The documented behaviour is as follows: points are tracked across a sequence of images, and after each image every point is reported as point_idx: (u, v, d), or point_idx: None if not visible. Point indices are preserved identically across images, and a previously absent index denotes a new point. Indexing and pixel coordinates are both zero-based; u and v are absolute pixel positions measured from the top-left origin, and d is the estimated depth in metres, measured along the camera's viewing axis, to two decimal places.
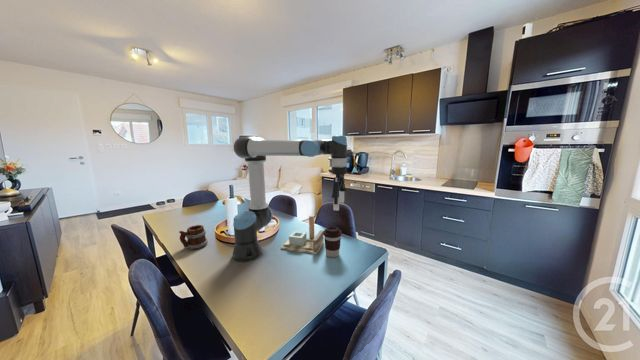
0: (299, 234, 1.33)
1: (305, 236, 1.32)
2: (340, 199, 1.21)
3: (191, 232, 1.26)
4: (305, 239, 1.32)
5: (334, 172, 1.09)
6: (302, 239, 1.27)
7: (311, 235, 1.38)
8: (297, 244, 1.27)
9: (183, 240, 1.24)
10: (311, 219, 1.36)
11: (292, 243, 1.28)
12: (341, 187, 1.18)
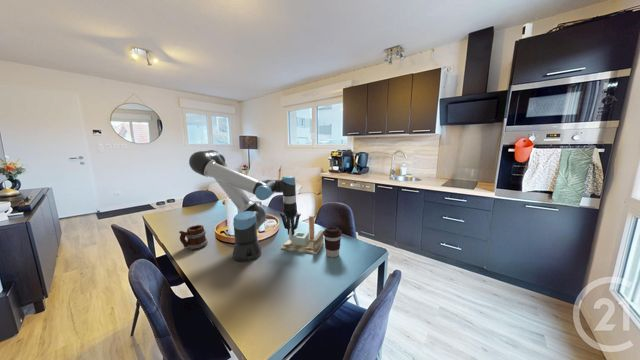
0: (301, 234, 1.32)
1: (307, 236, 1.31)
2: None
3: (191, 232, 1.26)
4: (307, 239, 1.31)
5: None
6: (304, 239, 1.26)
7: (311, 235, 1.38)
8: (299, 244, 1.26)
9: (183, 240, 1.24)
10: (311, 219, 1.36)
11: (294, 243, 1.27)
12: None
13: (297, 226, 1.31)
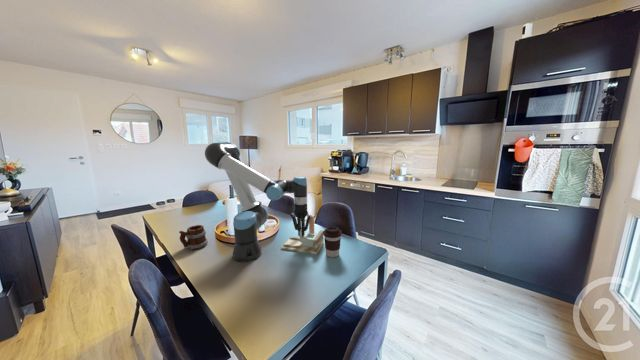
0: (311, 236, 1.30)
1: None
2: None
3: (191, 232, 1.26)
4: None
5: None
6: None
7: None
8: (310, 246, 1.25)
9: (183, 240, 1.24)
10: (311, 219, 1.36)
11: (305, 245, 1.25)
12: None
13: (307, 227, 1.29)
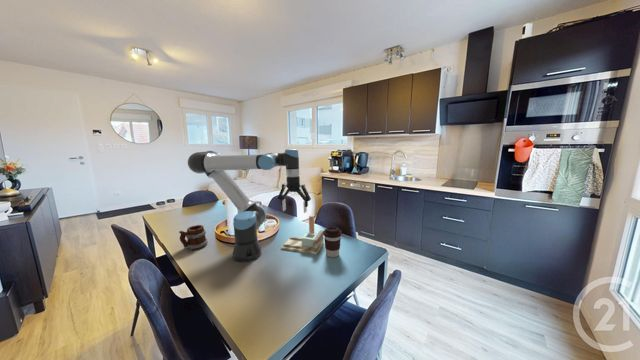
0: (311, 236, 1.30)
1: None
2: None
3: (191, 232, 1.26)
4: None
5: None
6: None
7: None
8: (310, 246, 1.25)
9: (183, 240, 1.24)
10: (311, 219, 1.36)
11: (305, 245, 1.25)
12: None
13: None
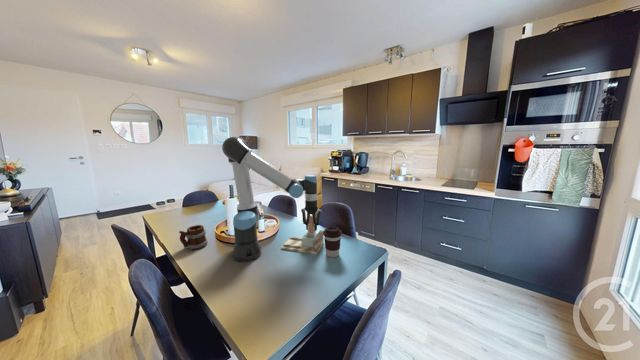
0: (311, 236, 1.30)
1: None
2: None
3: (191, 232, 1.26)
4: None
5: None
6: None
7: None
8: (310, 246, 1.25)
9: (183, 240, 1.24)
10: (311, 219, 1.36)
11: (305, 245, 1.25)
12: None
13: (319, 222, 1.38)
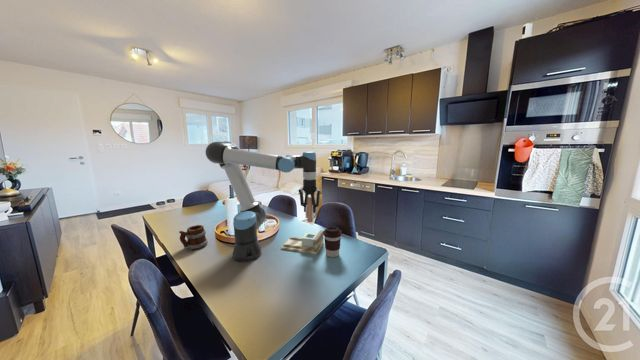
0: (311, 236, 1.30)
1: None
2: None
3: (191, 232, 1.26)
4: None
5: None
6: None
7: (309, 217, 1.28)
8: (310, 246, 1.25)
9: (183, 240, 1.24)
10: (310, 200, 1.26)
11: (305, 245, 1.25)
12: None
13: None
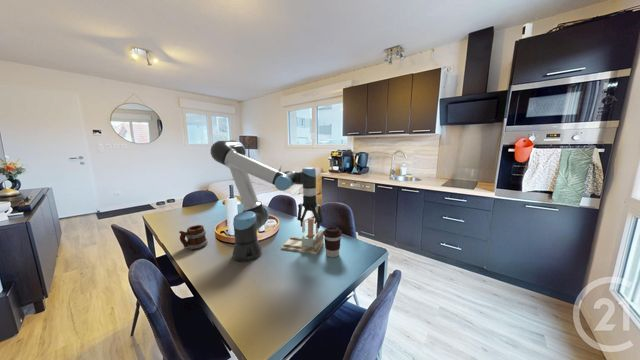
0: None
1: None
2: None
3: (191, 232, 1.26)
4: None
5: None
6: None
7: None
8: (310, 246, 1.25)
9: (183, 240, 1.24)
10: (311, 222, 1.24)
11: (305, 245, 1.25)
12: None
13: (322, 219, 1.25)
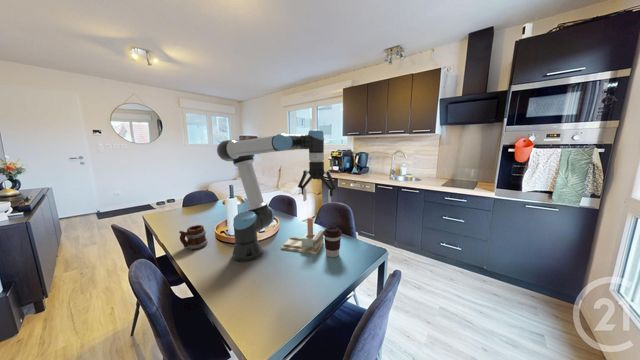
0: None
1: None
2: None
3: (191, 232, 1.26)
4: None
5: None
6: None
7: None
8: (310, 246, 1.25)
9: (183, 240, 1.24)
10: (310, 221, 1.25)
11: (305, 245, 1.25)
12: None
13: (335, 185, 1.11)
